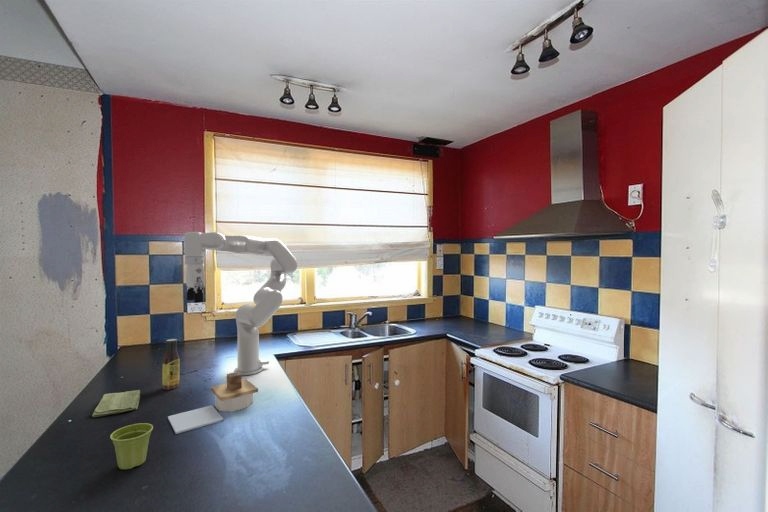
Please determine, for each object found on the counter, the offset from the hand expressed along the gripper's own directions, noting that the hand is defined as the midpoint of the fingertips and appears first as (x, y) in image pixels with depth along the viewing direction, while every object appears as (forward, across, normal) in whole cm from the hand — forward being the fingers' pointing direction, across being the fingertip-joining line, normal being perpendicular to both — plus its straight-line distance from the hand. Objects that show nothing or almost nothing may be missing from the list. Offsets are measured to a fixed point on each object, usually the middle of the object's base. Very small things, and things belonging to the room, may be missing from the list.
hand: (194, 301), depth 153 cm
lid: (+31, -32, -4) cm, 44 cm away
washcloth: (+36, -3, +27) cm, 45 cm away
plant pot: (+36, -50, +31) cm, 69 cm away
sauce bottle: (+36, +4, +8) cm, 37 cm away
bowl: (+36, -32, -4) cm, 48 cm away
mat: (+36, -34, +10) cm, 51 cm away
